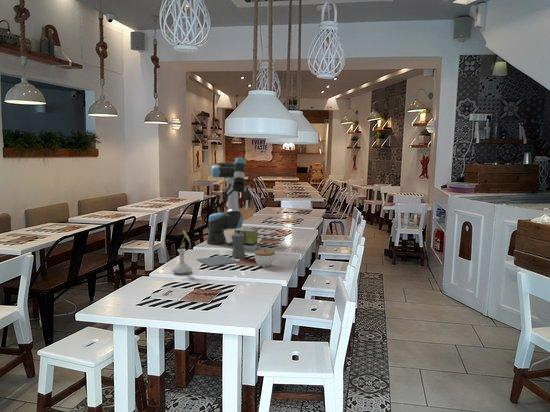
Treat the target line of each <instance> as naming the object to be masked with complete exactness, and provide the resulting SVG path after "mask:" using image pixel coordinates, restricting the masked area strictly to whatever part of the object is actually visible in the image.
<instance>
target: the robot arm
mask: <svg viewBox="0 0 550 412" xmlns="http://www.w3.org/2000/svg"><path fill="white" fill-rule="evenodd" d="M245 170H246V159H245V158H243V157H236V158H235V159H234V162H216V163H214V164H212V165H211V166H210V168H209V174H210V175H211V176H212V178H216V179H218V178H224V180H225V182H226V189H225V191H224V193H223V194H222V196H223V197H224V198H225V200H224V201H225V202H226V205H225V206H226V208H227V211H226V212H225V213H224V212H215V213H212V214H209V216H208V235H207V239H206V244H207V243H208V245H212V244H213V245H216V246H217V245H224V244H227V238H226V236H225V230H236V229H238V228H243V224H244V223H243V221H244V214H243V213H241V210H240V209H239V193H240V194H242V196H243V197H244V198H245V211H247V210H248V208H249V206H250V202H251V201H252V200H253V197H252V195H251V192H250V190H249V187H248V186H245V175H246V174H245V173H246V171H245Z"/></svg>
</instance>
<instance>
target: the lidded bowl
mask: <svg viewBox="0 0 550 412" xmlns="http://www.w3.org/2000/svg"><path fill="white" fill-rule="evenodd" d="M254 259H255V262H256V264H257V265H258V267H260V266H269V267H271V265H272V264H273V263H274V260H275V250H272V249H266V248H262V249H257V250H256V249H255V251H254Z"/></svg>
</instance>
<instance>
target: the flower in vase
mask: <svg viewBox="0 0 550 412" xmlns="http://www.w3.org/2000/svg"><path fill="white" fill-rule="evenodd" d="M182 234H183V235H184V236H183V239H182V241H181V245H180V246H179V247H180V248H178V249H177V252H178V254H179V261H178V263H177V264H176V265H175V266H174V267H173V268H172V270H171V271H172V272H173V273H174V274H179V275H180V274H181V275H182V274H188V273H190V272H192V270H193V269H192V267H191V266H190V265H189V264H188V263H186V262H185V253H186V251H187V249H186V248H183V247H185V243H184V241H185V240H184V239H185V238H186V240H187V242H191V239H190V238H189V235H188V233H187V232H186V231H185V230H184V229H183V230H182Z"/></svg>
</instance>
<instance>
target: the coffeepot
mask: <svg viewBox="0 0 550 412" xmlns="http://www.w3.org/2000/svg"><path fill="white" fill-rule="evenodd" d="M237 232H238V233H237V234H234V233H233V234H232V235H231V239H232V245H233V246H232V247H233V248H232V253H231V257H232V259H243V258H245V257H246V253H245V250H244V247H243V245H244V243H245V238H246V234H245V233H241V234H240V233H239V232H240V231H237Z"/></svg>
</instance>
